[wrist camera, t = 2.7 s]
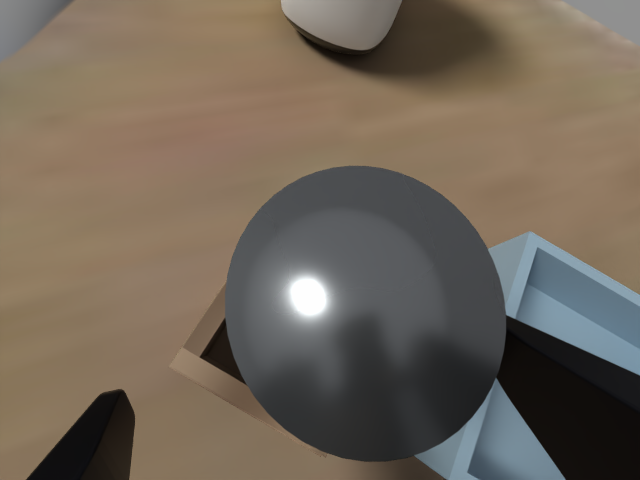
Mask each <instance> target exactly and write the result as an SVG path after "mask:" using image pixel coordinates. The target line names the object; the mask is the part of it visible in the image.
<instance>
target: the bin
mask: <svg viewBox="0 0 640 480" xmlns="http://www.w3.org/2000/svg"><path fill="white" fill-rule="evenodd" d="M488 251H489V253H490V255H491V257H492V259H493V261H494V264H495V267H496V269H497V272H498V275H499V278H500V282H501V286H502V290H503V294H504V301H505V309H506V315H508V316H510V317H512V318H514V319H516V320H519V321H521V322H523V323H525V324H528V325H530V326H532V327H534V328H536V329H539V330H541V331H543V332H545V333H547V334H550V335H552V336H554V337H556V338H559V339H561V340H563V341H565V342H567V343H570V344H572V345H574V346H576V347H578V348H581V349H583V350H585V351H587V352H590V353H592V354H594V355H596V356H598V357H601V358H603V359H605V360H607V361H609V362H612V363H614V364H616V365H618V366H620V367H623V368H625V369H627V370H629V371H632V372H634V373H636V374H638V375H640V295H639V294H637V293H635V292H634V291H632V290H630V289H628V288H627V287H625V286H623V285H622V284H620V283H618V282H616V281H615V280H613V279H611V278H610V277H608V276H606V275H604V274H603V273H601V272H599V271H598V270H596V269H594V268H592V267H591V266H589V265H587V264H586V263H584V262H582V261H580V260H579V259H577V258H575V257H574V256H572V255H570V254H568V253H567V252H565V251H563V250H562V249H560V248H558V247H556V246H555V245H553V244H551V243H550V242H548V241H546V240H544V239H543V238H541V237H539V236H538V235H536V234H534V233H532V232H531V231H529V232H527V233H525V234H522V235H520V236H518V237H515V238H513V239H510V240H508V241H506V242H503V243H501V244H498V245H496V246H494V247H491V248H489V249H488ZM414 456H415V457H416V458H418V459H419V460H420V461H422V462H423V463H425V464H426V465H427V466H429V467H430V468H431V469H433V470H434V471H436V472H437V473H438V474H440V475H441V476H442V477H444V478H445V479H447V480H565V478H564V477H563V475H562V474H561V472H560V471H559V470H558V468H557V467H556V465H555V464H554V462H553V461H552V460H551V458H550V457H549V455H548V454H547V452H546V451H545V450H544V448H543V447H542V445H541V444H540V442H539V441H538V440H537V438H536V437H535V435H534V434H533V433H532V431H531V430H530V428H529V427H528V425H527V424H526V423H525V421H524V420H523V418H522V417H521V415H520V414H519V413H518V411H517V410H516V408H515V407H514V405H513V404H512V403H511V401H510V400H509V398H508V397H507V395H506V393H505V392H504V390H503V389H502V387H501V385H500V384H499V382H498V380H497V378H496V379H495V381H494V384H493V386H492V388H491V390H490V392H489V394H488V395H487V397H486V399H485V401H484V402H483V404H482V405H481V406H480V408H479V409H478V410H477V412H476V413H475V414H474V416H473V417H472V418H471V419H470V420H469V421H468V422H467V423H466V424H465V425H464V426H463V427H462V428H461V429H460V430H459V431H458V432H457V433H455V434H454V435H453V436H451V437H450V438H448V439H447V440H446V441H444V442H443V443H441V444H439V445H437V446H435V447H433V448H431V449H429V450H428V451H426V452H423V453H420V454H417V455H414Z"/></svg>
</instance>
